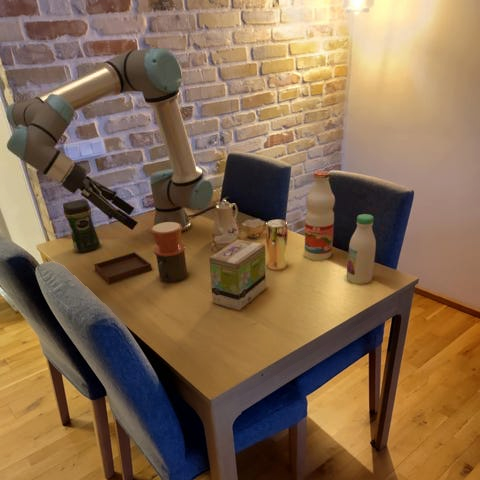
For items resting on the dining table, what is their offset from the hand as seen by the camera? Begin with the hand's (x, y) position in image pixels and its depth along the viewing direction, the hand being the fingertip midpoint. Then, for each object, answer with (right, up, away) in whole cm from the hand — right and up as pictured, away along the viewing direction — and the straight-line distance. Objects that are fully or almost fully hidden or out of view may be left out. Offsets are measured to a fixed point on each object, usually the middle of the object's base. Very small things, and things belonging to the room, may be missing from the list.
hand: (133, 218), depth 130 cm
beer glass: (+44, -12, +15) cm, 49 cm away
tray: (-8, -13, +19) cm, 25 cm away
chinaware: (+29, -1, +35) cm, 46 cm away
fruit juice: (+59, -8, +21) cm, 63 cm away
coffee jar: (-27, -3, +38) cm, 46 cm away
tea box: (+32, -23, 0) cm, 39 cm away
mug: (+10, -17, +12) cm, 23 cm away
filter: (+10, -9, +9) cm, 16 cm away
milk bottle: (+69, -18, +5) cm, 71 cm away
